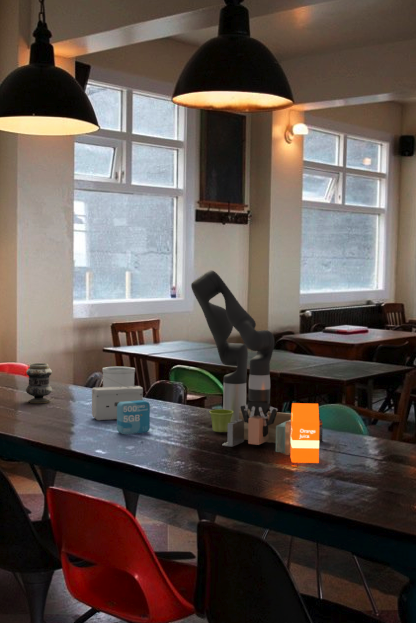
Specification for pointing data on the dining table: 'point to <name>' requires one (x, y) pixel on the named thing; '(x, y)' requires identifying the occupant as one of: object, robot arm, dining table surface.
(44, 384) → the stone urn vase
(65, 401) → the dining table surface
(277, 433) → the teal book
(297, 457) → the orange juice
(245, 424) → the rack
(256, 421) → the tan rectangular block
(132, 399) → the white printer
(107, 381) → the utensil holder
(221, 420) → the plant pot
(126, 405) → the data package
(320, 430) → the supplement bottle
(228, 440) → the bookend
